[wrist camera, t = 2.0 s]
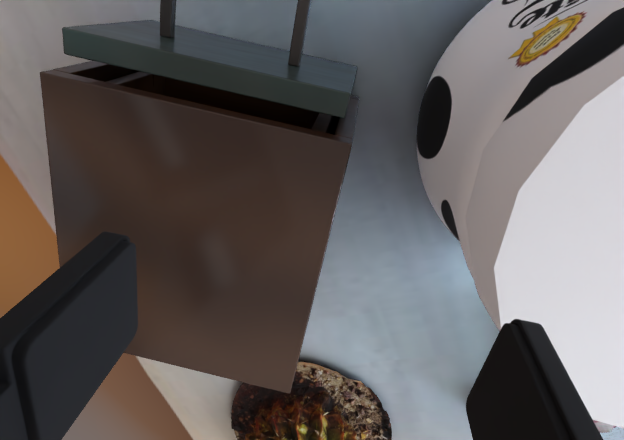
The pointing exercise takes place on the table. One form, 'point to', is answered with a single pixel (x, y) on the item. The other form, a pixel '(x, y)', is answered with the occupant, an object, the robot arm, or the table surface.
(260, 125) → the cabinet
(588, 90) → the milk container
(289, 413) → the cactus
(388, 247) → the table surface
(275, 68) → the drawer
